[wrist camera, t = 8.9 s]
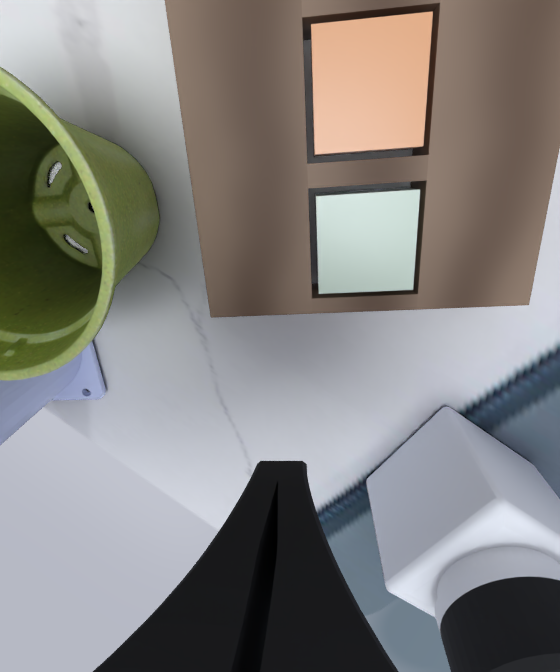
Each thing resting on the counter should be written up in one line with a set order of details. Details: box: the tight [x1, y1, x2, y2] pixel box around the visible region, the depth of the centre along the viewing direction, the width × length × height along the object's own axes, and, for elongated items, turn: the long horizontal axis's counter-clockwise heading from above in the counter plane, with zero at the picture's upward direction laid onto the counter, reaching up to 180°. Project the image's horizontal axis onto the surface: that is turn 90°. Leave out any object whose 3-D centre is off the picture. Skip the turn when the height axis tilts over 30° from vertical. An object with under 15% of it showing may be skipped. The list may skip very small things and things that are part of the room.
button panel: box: [165, 0, 560, 317], centre depth 15 cm, size 14×17×2 cm
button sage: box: [315, 187, 420, 294], centre depth 17 cm, size 4×4×2 cm
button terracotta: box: [311, 12, 433, 157], centre depth 15 cm, size 4×4×2 cm
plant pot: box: [0, 67, 159, 381], centre depth 15 cm, size 9×9×9 cm
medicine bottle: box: [366, 407, 560, 672], centre depth 18 cm, size 7×7×12 cm
